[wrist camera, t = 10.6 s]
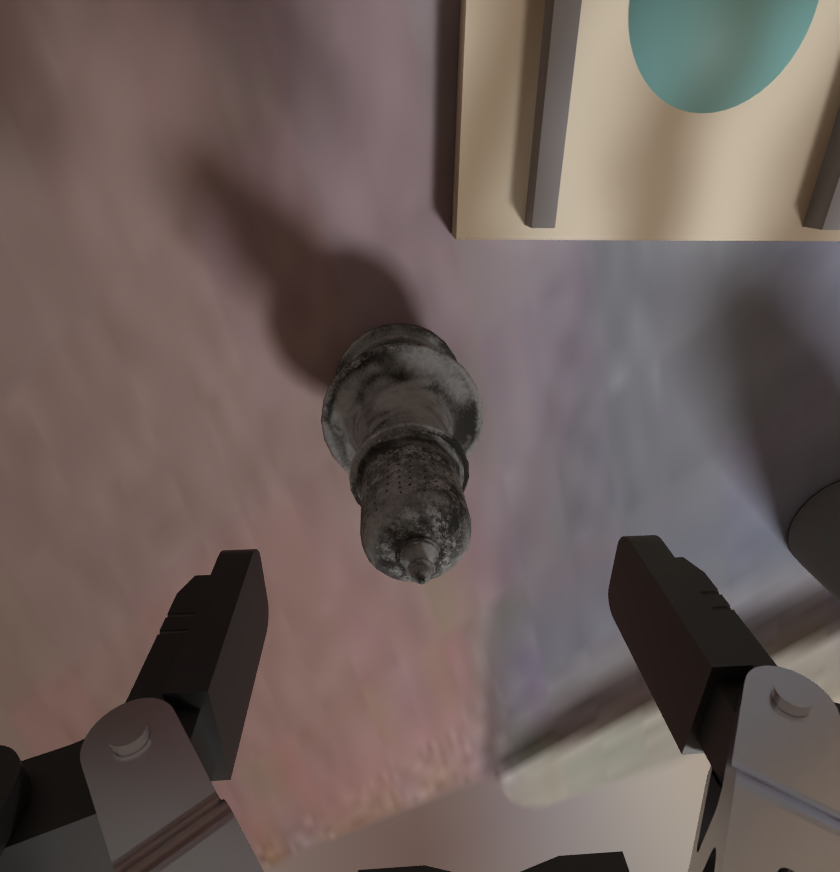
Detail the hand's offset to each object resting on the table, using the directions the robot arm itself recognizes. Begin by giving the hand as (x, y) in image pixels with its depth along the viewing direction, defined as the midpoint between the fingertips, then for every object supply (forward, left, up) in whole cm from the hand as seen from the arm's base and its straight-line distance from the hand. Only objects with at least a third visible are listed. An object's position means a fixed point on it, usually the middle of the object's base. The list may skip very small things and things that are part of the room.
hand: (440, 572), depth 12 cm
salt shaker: (0, 0, -12) cm, 12 cm away
